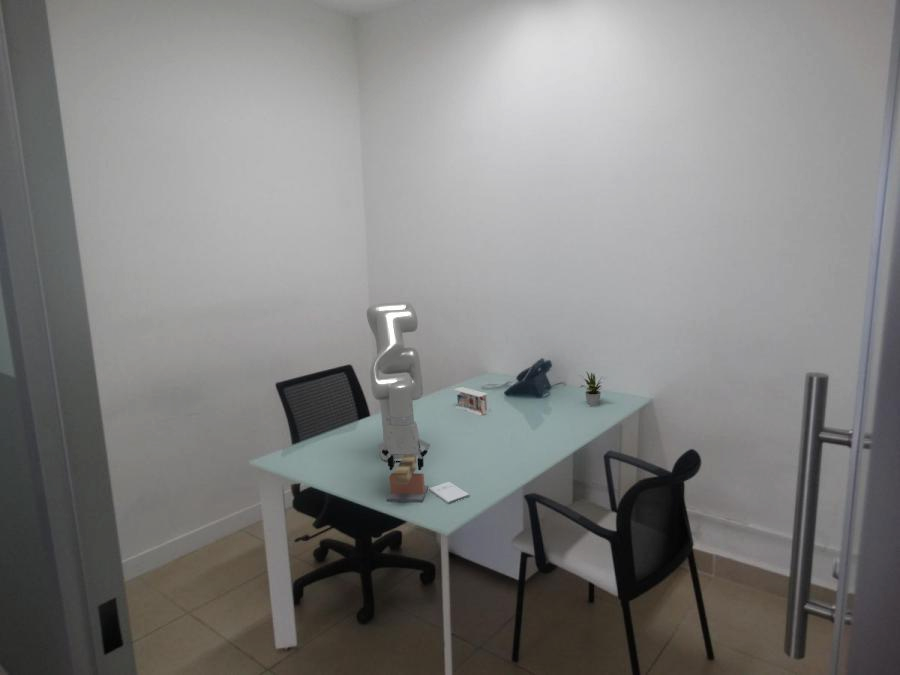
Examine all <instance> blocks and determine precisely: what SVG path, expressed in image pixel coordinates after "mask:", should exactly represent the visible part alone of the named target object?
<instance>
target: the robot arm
mask: <svg viewBox="0 0 900 675" xmlns="http://www.w3.org/2000/svg"><path fill="white" fill-rule="evenodd" d="M366 318H367V324H368V325H369V327H370V329H371V331H372V334H373V336H374V339H375V345H376V356H375V358H374V359H373V361H372V363H371V367H370V372H369V374H370V384H371V392H372V396H373V398H374V399H375V400H377V401H378V402H379V406H380V407H379V408H380V415H381V425H382V426H381V428H382V436H383V437H382V438H383V442H381V443H379V444H378V448H379V450H380V452H381V454H380V458H382V459H383V460H382V459H381V460H382V461H384V460H386V461H385V462H387V461H388V462H387V466H388V467H389V471H392V470H393V469H394V467H395V463H397V462H396V461H402V459H403V457H404V456H405V455H416V458H417V470H418V471H421V470H422V468H424V464H425V463H424V457H425V456H426V455H427V454H428V452H429V450H430V447H431V443H428V442H426V441H424V440H422V439H421V438H420V433H419V428H418V426H417V425H418V424H417V422H416V421H415V415H414V405H413V404H414V402H413V401H416V400H420V399H421V398H422V397H423V394H424V387H423V379H422V369H421V359H420V355H419V352H418V351H417V349H416V348H414V347H406V346H405V343H404V342H405V341H404V337H403V334H404V333H414V332H415V331H417V329H418V325H419V324H418V316H417V313H416V311H415V308H414V307H413V305H412V304H411V303H410V302H408V301H405V302H389V303H377V304H373V305H371V306H369V307H368V308H367V309H366ZM379 372H380V373H381V374H384V375H393V374H396V375H394V376H383V377H379ZM404 373H407V374H409V375H407V374H406V375H397V374H404ZM421 447H424V450H421ZM394 461H395V462H394Z"/></svg>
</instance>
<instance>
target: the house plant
mask: <svg viewBox="0 0 900 675" xmlns="http://www.w3.org/2000/svg"><path fill="white" fill-rule="evenodd" d="M585 373H586V375H587V378H588V380H587V379H586V378H584V377H583V375H580V374H579V377H581V378H584V379H582V380H583V381H584V382H585V384H586V385H587V386H586V385H585V388H586V391H585V398H586V404H588V405H590V406H589V407H591V406H596V407H598V406H597V405H600V398H601V395H602V394H601V391H600V390H601V389H602V385H600V384H602V382H601V381H602V380H601V379H602V378H603V376H600V379H599V380H598V382H597V384H596V380H597V378H596V375H595V373H593V372H592V371H591V372H590V374H589V373H588V372H587V371H585ZM606 378H608V377H604V378H603V380H605V379H606ZM579 388H584V385H583V384H582V383H580V386H579ZM588 405H587V406H588Z"/></svg>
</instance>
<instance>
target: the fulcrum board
mask: <svg viewBox="0 0 900 675" xmlns="http://www.w3.org/2000/svg"><path fill="white" fill-rule="evenodd" d="M389 486H390V492H389V494H388V495H387V497H386V502H392V501H404V502H405V503H424V499H425V498H426V495H427V493H428V491H429V489H428V488H429V487H430V486H429V485H425V474H424V473H420V472H419V473H415V472H414V473H413V475H412V477H411V479H410V481H409V483H408V485H403V484H395V474H394V472H391V474H390V475H389ZM404 502H403V503H404Z"/></svg>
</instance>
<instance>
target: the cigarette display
mask: <svg viewBox="0 0 900 675" xmlns="http://www.w3.org/2000/svg"><path fill="white" fill-rule="evenodd" d="M452 390H453V391H454V392H458V394H457V395H456V397H457V405H455V407H456V408H455V409H458V408H459V407H460V408H461V407H464V408H465V409H466V408H467V409H466V410H467V411H469V412H468V413H471V412H472V413H471V414H474V413H475V414H474V415H477V414H478V416H484V415H486V414H488V413H489V408H490V407H489V393H487V392H483V391H479V390H475V389H473V388H472V389H471V388H467V387H463V386H460V387H457V388H456V387H455V388H454V389H452ZM457 406H458V408H457ZM464 408H463V409H464ZM468 408H469V409H470V410H471V411H470V410H469V409H468ZM461 409H462V408H461ZM461 409H460V410H461ZM465 409H464V410H465ZM464 410H463V411H464ZM467 411H466V412H467ZM487 412H488V413H487ZM485 413H486V414H485Z"/></svg>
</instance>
